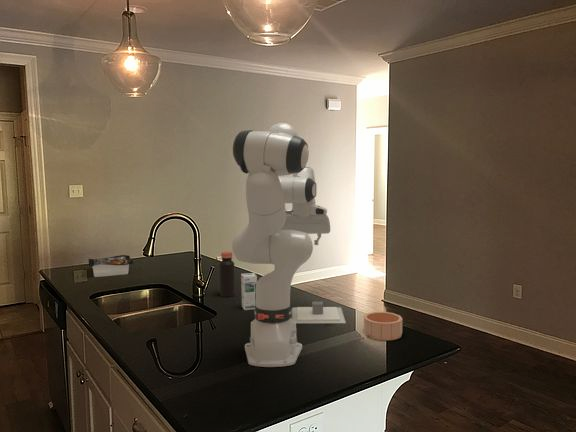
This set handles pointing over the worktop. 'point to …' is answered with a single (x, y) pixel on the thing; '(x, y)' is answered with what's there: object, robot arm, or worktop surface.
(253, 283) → the syrup box
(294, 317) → the mat
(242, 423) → the worktop surface
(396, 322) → the bowl
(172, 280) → the worktop surface
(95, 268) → the food packaging
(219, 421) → the worktop surface
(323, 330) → the worktop surface
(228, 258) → the bottle
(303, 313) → the cover sheet
